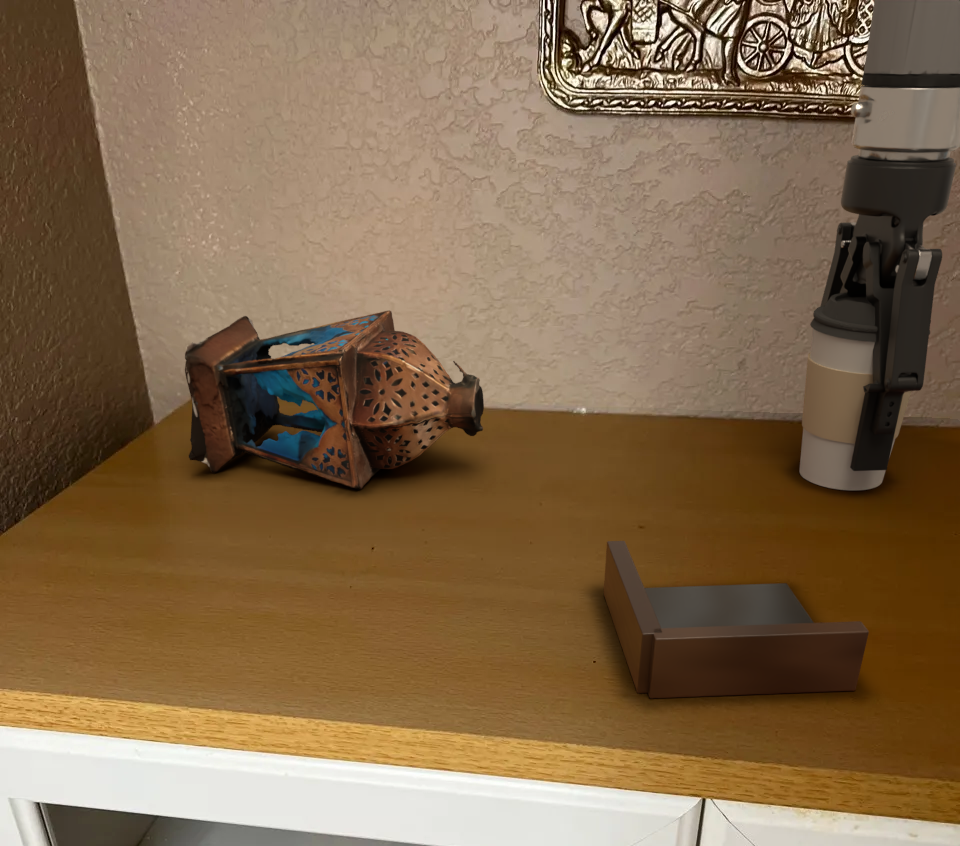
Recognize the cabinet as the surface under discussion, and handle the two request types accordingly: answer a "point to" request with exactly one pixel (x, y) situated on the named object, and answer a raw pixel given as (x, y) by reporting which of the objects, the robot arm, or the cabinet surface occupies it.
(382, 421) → the lantern
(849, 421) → the coffee cup
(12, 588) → the cabinet surface
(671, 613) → the corner guide
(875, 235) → the robot arm
